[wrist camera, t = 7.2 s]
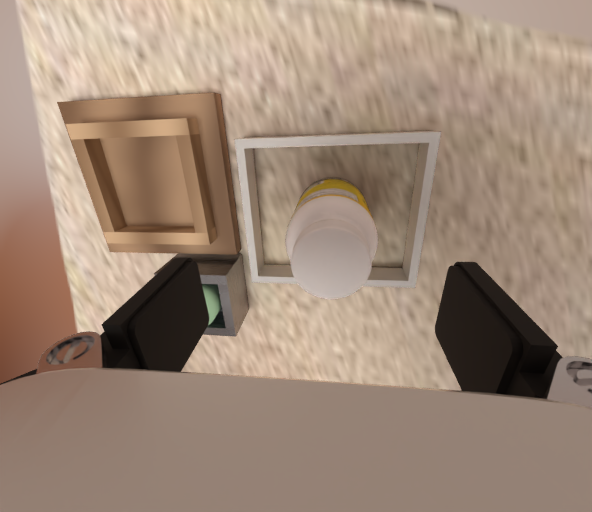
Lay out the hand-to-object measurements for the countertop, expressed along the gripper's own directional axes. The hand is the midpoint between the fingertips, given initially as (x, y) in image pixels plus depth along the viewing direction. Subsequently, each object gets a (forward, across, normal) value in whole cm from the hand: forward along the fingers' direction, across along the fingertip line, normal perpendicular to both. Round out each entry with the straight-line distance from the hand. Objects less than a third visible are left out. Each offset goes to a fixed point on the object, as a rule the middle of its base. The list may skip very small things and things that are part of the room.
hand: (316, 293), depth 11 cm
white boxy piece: (+13, +10, +8) cm, 18 cm away
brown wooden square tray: (+13, +13, -2) cm, 19 cm away
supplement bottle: (+13, -1, +1) cm, 13 cm away
